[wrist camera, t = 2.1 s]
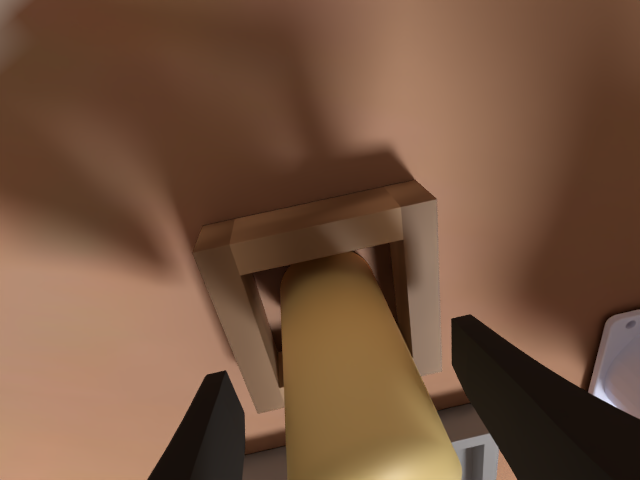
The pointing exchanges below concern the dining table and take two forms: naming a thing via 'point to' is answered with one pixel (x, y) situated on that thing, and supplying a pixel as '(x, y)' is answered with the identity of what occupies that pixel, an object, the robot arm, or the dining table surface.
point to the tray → (462, 429)
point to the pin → (353, 382)
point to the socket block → (316, 242)
